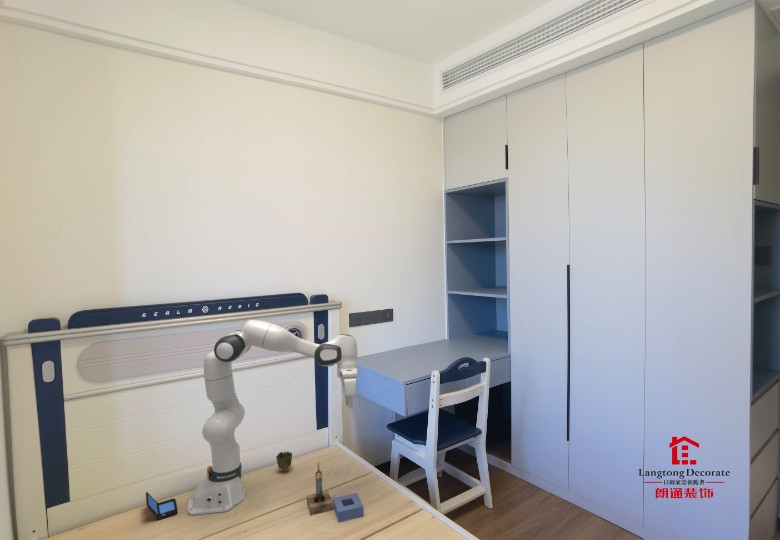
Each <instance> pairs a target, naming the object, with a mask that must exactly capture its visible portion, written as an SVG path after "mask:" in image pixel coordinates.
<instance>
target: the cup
mask: <svg viewBox="0 0 780 540" xmlns="http://www.w3.org/2000/svg"><path fill="white" fill-rule="evenodd" d="M275 456H276V463H277V464H276V465H277V466H278V469H280V472H281V473H287V472H289V469H290V467H291V466H292V460H293V452H291V451H288V450H287V451H280V452H278V453H277V455H275Z"/></svg>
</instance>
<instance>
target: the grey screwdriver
mask: <svg viewBox="0 0 780 540" xmlns="http://www.w3.org/2000/svg"><path fill="white" fill-rule="evenodd" d="M316 465H317V471H316V472H315V473H314V475H315V494H316V503H318V502H323V492H324V491H323V471H322V470H321V469H320V462H319V461H318V462H317V463H316ZM320 470H321V471H320Z"/></svg>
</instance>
